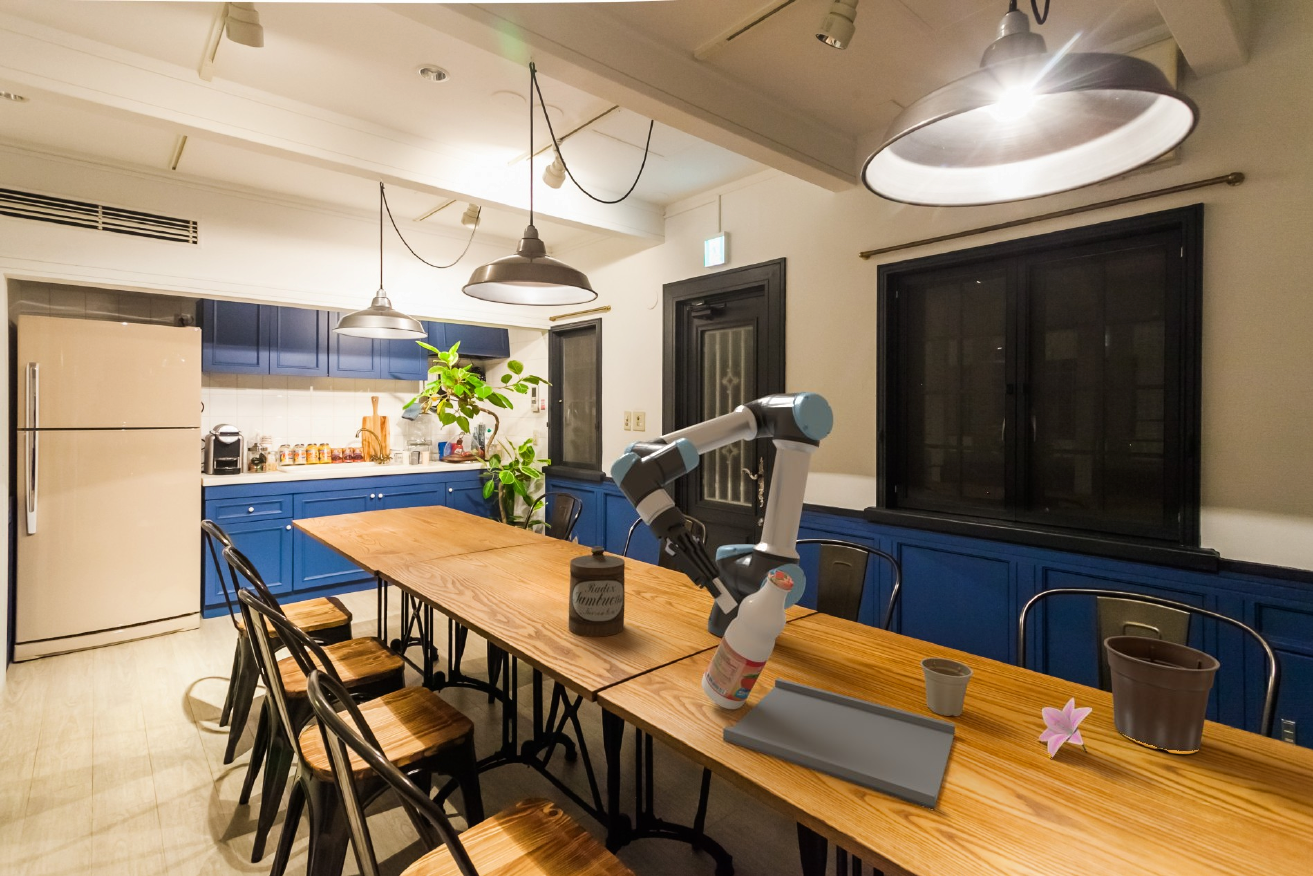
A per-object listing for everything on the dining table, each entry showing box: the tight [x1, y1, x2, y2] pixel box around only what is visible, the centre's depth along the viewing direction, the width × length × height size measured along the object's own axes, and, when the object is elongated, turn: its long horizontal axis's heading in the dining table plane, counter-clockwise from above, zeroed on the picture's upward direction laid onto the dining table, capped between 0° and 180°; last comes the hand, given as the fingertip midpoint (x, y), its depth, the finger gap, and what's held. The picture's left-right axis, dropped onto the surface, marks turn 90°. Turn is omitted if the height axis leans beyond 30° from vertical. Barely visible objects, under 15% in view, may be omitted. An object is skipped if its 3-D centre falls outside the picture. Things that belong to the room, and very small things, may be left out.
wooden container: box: [568, 545, 626, 638], centre depth 162 cm, size 15×15×22 cm
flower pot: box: [919, 657, 974, 717], centre depth 120 cm, size 9×9×9 cm
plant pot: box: [1103, 635, 1221, 751], centre depth 111 cm, size 16×16×16 cm
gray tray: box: [722, 677, 956, 811], centre depth 108 cm, size 34×26×2 cm
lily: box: [1038, 697, 1093, 758], centre depth 105 cm, size 11×11×9 cm
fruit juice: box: [701, 570, 794, 710], centre depth 116 cm, size 9×9×28 cm
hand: (731, 609), depth 119 cm, fingers closed
